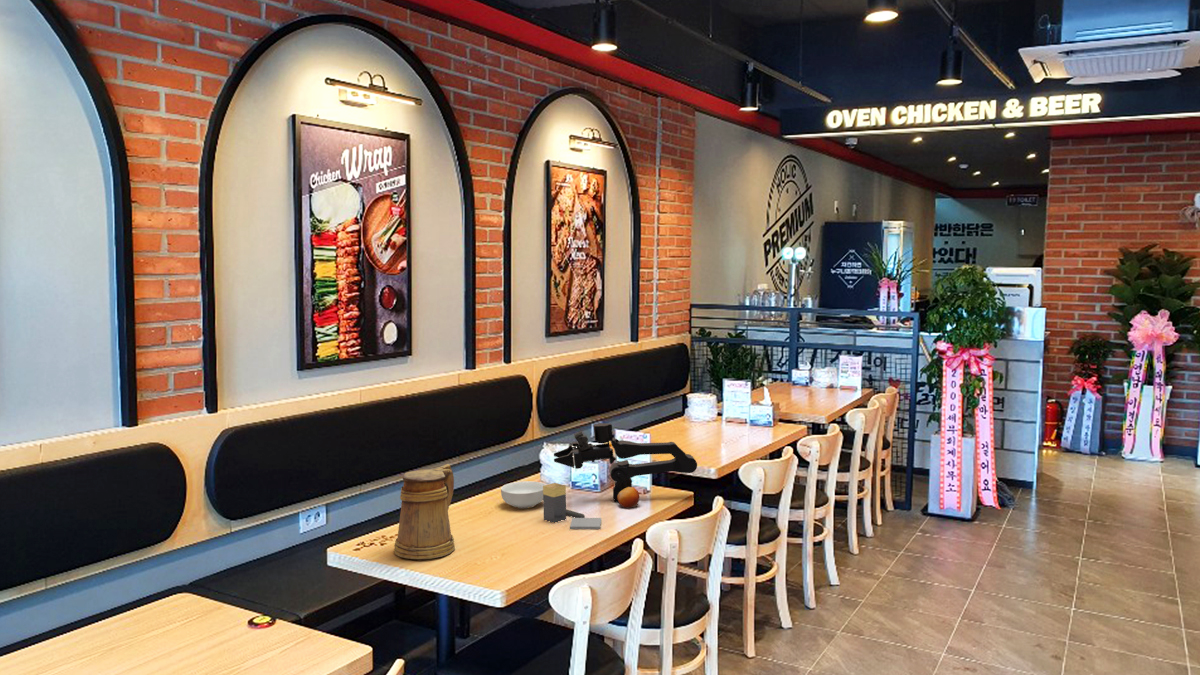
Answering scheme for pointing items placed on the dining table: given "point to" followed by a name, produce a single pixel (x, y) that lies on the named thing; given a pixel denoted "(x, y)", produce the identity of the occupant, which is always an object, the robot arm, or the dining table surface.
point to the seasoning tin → (554, 502)
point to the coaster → (585, 523)
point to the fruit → (628, 497)
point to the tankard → (425, 514)
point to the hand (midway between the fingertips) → (553, 457)
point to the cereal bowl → (523, 493)
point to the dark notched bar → (574, 514)
